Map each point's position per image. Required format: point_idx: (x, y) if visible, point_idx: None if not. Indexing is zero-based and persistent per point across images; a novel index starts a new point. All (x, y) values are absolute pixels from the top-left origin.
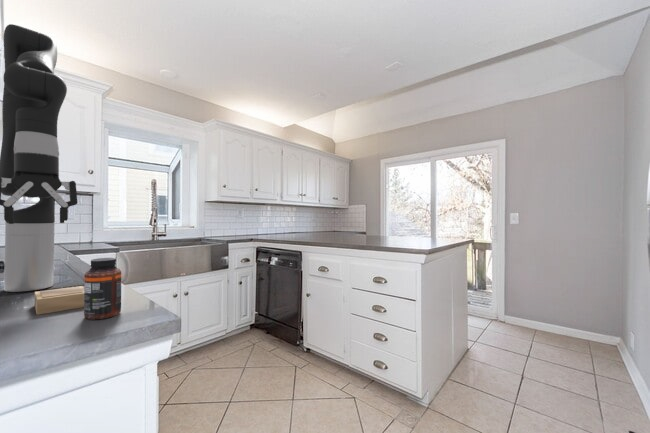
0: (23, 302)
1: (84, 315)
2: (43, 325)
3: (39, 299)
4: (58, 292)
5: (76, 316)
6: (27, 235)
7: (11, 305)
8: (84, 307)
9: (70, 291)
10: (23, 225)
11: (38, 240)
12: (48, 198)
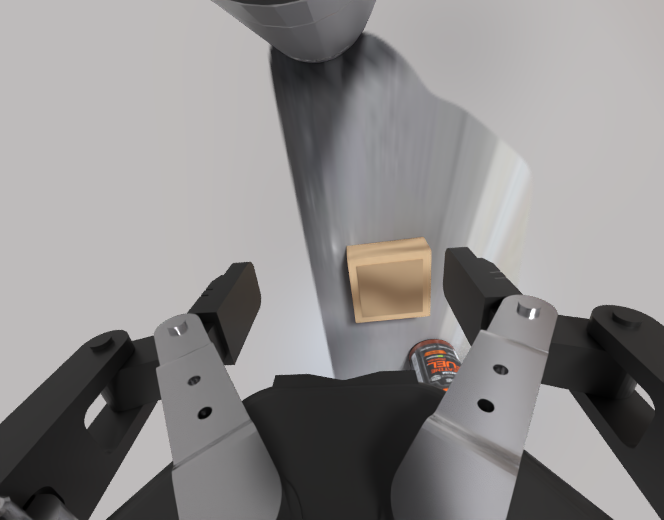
0: (325, 204)
1: (409, 359)
2: (364, 354)
3: (358, 322)
4: (385, 295)
5: (401, 340)
6: (281, 26)
7: (309, 219)
8: (411, 369)
9: (404, 298)
10: (241, 5)
11: (335, 23)
12: None
